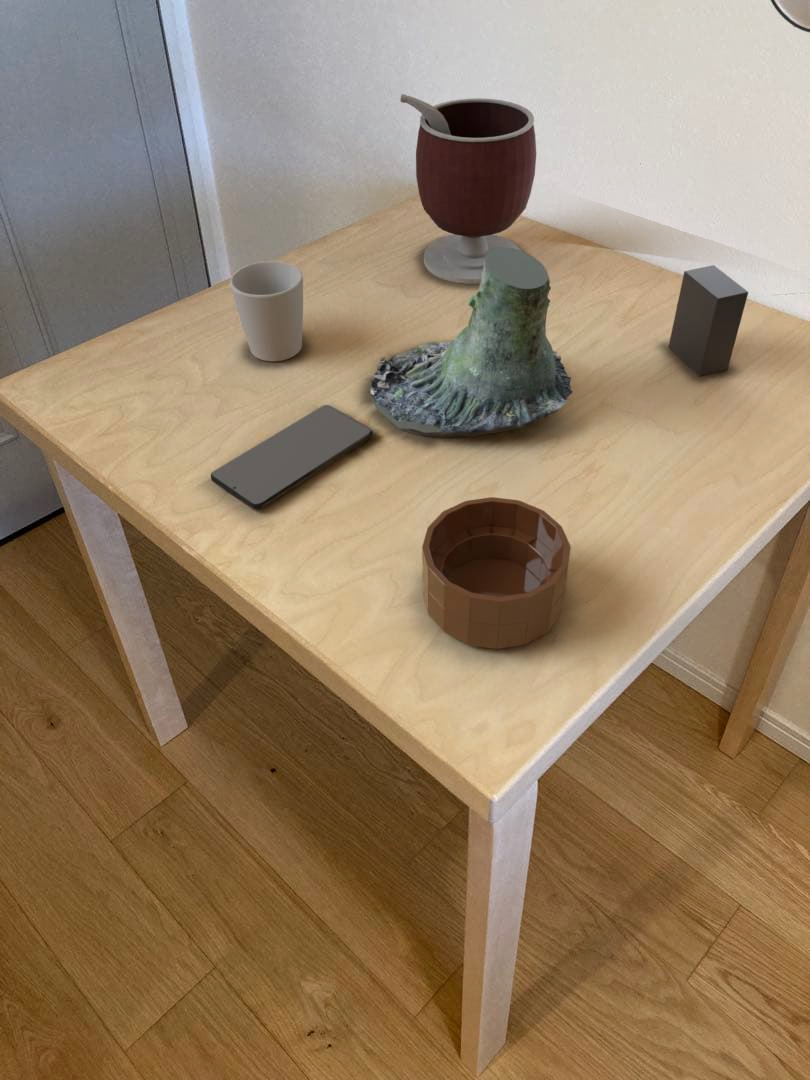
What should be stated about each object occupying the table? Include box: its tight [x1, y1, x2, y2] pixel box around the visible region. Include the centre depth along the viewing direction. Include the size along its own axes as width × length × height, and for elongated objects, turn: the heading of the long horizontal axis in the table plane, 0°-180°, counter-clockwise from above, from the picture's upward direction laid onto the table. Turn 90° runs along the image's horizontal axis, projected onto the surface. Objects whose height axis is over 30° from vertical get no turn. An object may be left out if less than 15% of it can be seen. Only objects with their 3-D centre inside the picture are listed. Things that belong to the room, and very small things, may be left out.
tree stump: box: [369, 247, 573, 437], centre depth 87 cm, size 18×20×18 cm
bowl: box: [421, 496, 572, 650], centre depth 70 cm, size 11×11×6 cm
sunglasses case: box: [668, 264, 749, 377], centre depth 92 cm, size 4×6×9 cm, turn 20°
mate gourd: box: [399, 93, 537, 285], centre depth 105 cm, size 16×14×20 cm
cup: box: [229, 260, 304, 362], centre depth 97 cm, size 8×10×8 cm
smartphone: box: [210, 404, 373, 511], centre depth 85 cm, size 7×1×15 cm
